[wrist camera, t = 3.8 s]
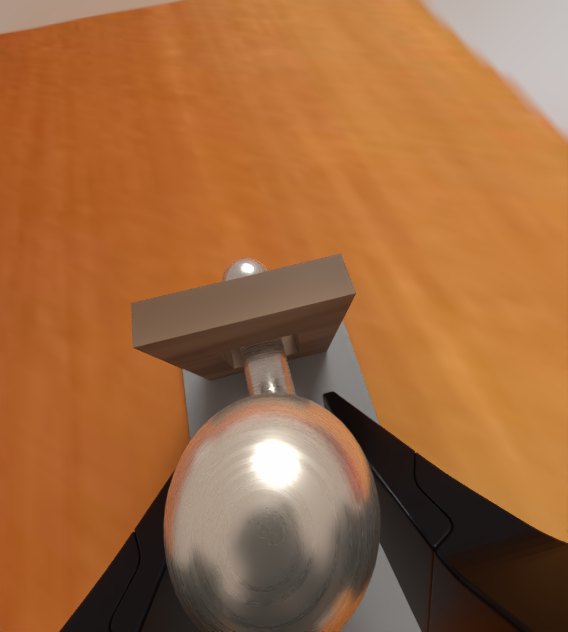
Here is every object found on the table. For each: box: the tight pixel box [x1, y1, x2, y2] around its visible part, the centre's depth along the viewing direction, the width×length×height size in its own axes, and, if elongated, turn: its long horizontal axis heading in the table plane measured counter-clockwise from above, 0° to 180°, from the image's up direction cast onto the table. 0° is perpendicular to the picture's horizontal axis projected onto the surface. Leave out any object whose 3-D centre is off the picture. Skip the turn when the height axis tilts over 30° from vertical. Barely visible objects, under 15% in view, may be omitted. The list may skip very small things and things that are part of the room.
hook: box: [164, 258, 381, 632], centre depth 9 cm, size 11×4×10 cm, turn 14°
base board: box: [183, 320, 421, 632], centre depth 14 cm, size 16×10×1 cm, turn 14°
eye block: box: [131, 254, 356, 381], centre depth 12 cm, size 2×7×8 cm, turn 104°
